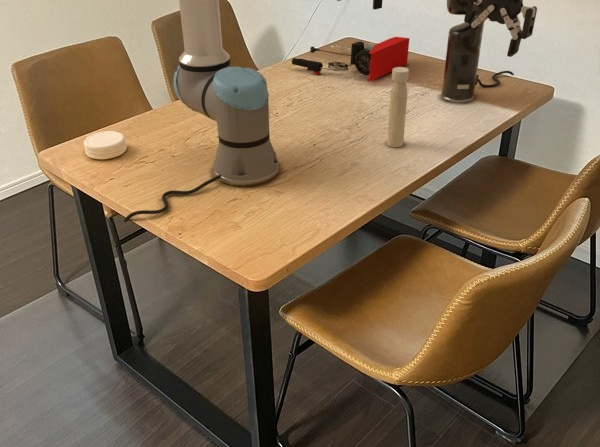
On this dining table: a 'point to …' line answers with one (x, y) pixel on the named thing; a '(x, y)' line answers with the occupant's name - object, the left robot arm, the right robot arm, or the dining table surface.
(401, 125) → the bottle
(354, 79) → the dining table surface
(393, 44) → the electric hoist
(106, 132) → the white round disc
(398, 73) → the cap
